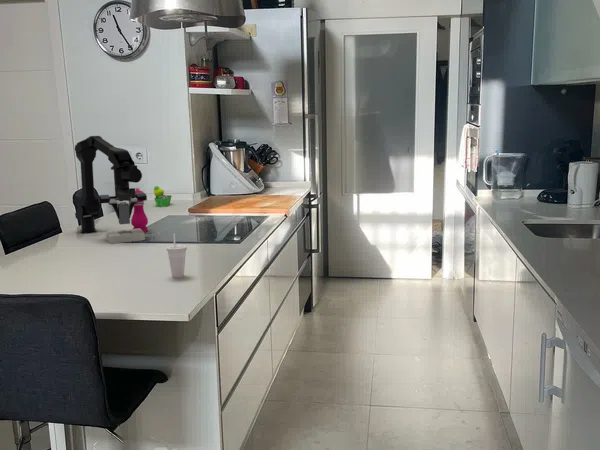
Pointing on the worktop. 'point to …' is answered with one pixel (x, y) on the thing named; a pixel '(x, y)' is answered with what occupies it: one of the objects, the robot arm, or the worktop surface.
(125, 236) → the socket plate
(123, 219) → the plug
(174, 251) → the smoothie
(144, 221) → the pepper mill
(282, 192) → the worktop surface
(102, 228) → the worktop surface
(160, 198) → the fruit basket
